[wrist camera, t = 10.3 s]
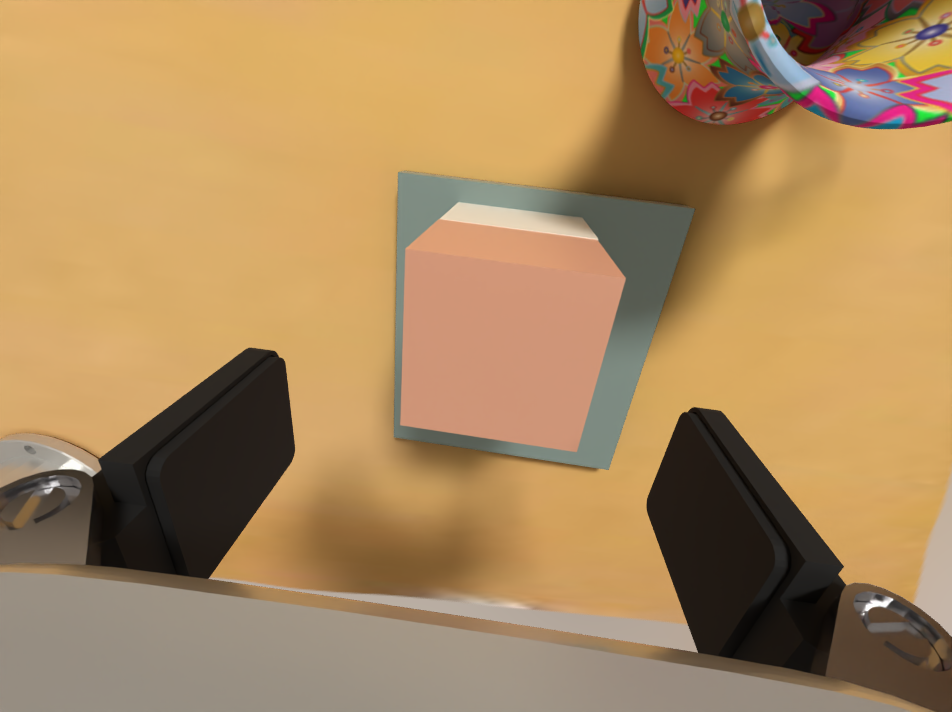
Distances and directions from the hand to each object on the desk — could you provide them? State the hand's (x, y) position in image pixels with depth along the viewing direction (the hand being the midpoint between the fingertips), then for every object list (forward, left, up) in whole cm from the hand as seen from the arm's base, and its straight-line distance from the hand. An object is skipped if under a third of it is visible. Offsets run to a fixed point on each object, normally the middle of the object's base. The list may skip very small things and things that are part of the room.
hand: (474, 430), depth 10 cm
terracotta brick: (0, 0, -8) cm, 8 cm away
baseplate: (-4, -1, -14) cm, 15 cm away
